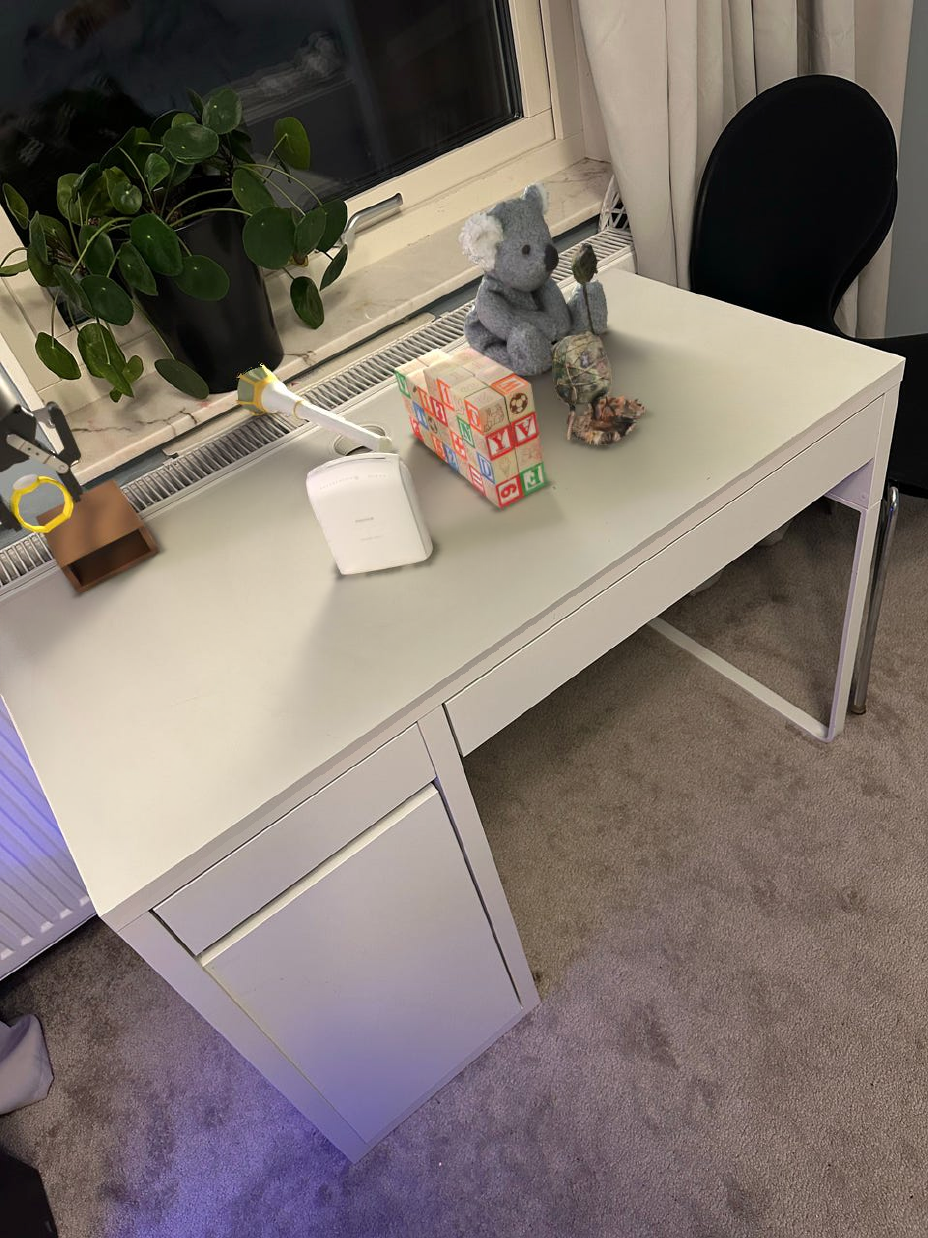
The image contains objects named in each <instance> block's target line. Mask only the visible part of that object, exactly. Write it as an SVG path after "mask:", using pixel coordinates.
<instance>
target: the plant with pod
mask: <svg viewBox="0 0 928 1238" xmlns="http://www.w3.org/2000/svg"><path fill="white" fill-rule="evenodd" d="M598 263H599V260H598V258H597V255H596V253H595V250H594V248H593V246H592V244H591V243H589V242H585V243H584V242H582V243H581V244H580V246H579V248H578V249H576V251H575V253H574V254H573V256H572V258H571V263H570V268H571V272H572V275H573V279H574V280H575V281H576V282H577V284H579V283H580V284H582V286H583V295H584V299H585V305H586V312H587V316H588V321H589V326H590V331H591V332H592V333H590V332H589V331H585V332H581V333H579V334H576V335H572V336H567V337H565V338H563V339H561V340H559V341H556V343H554V344H553V347H552V348H551V349H550V350H551V351H550V357H551V363H552V366H551V375H552V381H553V389H554V391H555V393H556V397H557V400H558V401H559V402H561V403H563V404H567V405H568V407H569V414H568V415H567V419H566V426H567V437H566V440H567V441H568V440H571V438H572V436H573V438H575V439H577V440H578V441H582V442H584V444H586V443H588V442H589V445H596V446H597V447H598V446H599V447H601V446H603V447H605V446H609V445H613V444H614V443H619V441H621V439H623V438H624V437H625V436H626V435H629V432H632V431H634V428H635V425H636V424H637V420H639V419H641V418H642V417H641V415H642V414H643V413H645V412H647V410H646V409H645V406H642V405H643V403H639V401H638V400H639V399H638V397H637V398H635V399H634V400H632V399H631V400H628V399H627V398H626V396H622V395H620V396H617V397H612V396H611V397H610V396H609V394H610V392H611V391H612V386H613V381H612V373H611V369H612V367H611V365H610V362H609V359H608V356H607V354H608V353H607V352H606V350H605V347H604V345H603V342H602V339H600V336H598V334H597V335H595V332H594V329H593V324H592V320H591V313H590V310H589V304H588V298H587V296H588V295H587V290H586V282H590V281H592V280H593V278H594V276H595V275H598V273H599V270H598V267H597V266H598ZM548 343H549V341H547V344H548ZM576 405H587V407H588V408H587V409H586V410H583V413H579V414H578V415H577V416H576V411H577V406H576ZM575 417H576V418H575ZM574 421H575V422H574Z"/></svg>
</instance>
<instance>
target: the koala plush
mask: <svg viewBox="0 0 928 1238" xmlns="http://www.w3.org/2000/svg"><path fill="white" fill-rule="evenodd" d="M549 195H550V192H549V191H548V189H547V188H546V186H545V183H544V182H543V181H542V182H541V181H540V182H534V181H533V180H532V181H531V184H529V185H527V186H526V187H525V188H524V191H523V193H522V194H521V195H520V197H515V198H510V199H506V200H505V201H502V202H498V203H496V204H495V205H494V206H492V207H491V208H490V209H489V210H488V211H485V212H483V211H481V212H480V211H477V212H473V214H472V216H469V218H467V220H466V221H465V222H464V227H461V228H460V230H461V232H460V233H459V235H458V237H457V238H456V242H459V243H462V244H461V252H462V255H463V256H466V259H468V262H469V263H471V264H474V265H477V266H479V267H480V269H481V270H483V272H484V273H483V275H482V279H481V282H480V284H479V286H478V289H477V294H476V296H475V301H474V302H473V303H472V306H471V307H470V308H469V309H468V311H467V312H466V314H465V316H464V318H463V320H462V323H463V324H462V327H463V328H462V331H463V334H464V337H465V339H466V340H467V343H468V345H469V347H470V348H472V349H473V350H475V351H477V352H479V353H480V354H482V355H483V356H486V357H488V358H490V359H492V360H493V361H495V362H497V363H498V364H501V365H502V366H504V367H506V368H508V369H509V370H511V371H513V372H514V375H517V376H524V377H525V376H529V377H530V376H540V375H542V374H543V373H545V372H547V371H549V369H551V367H552V363H551V357H550V351H551V350H550V349H551V348H552V347H553V346H554V344H552V343H553V342H558V341H560V340H561V339H563V338H565V337H567V336H572V335H576V334H579V333H581V332H585V331H589V332H590V333H592V332H591V331H590V326H589V321H588V316H587V312H586V305H585V299H584V295H583V286H582V284H580V283H577V284H576V286H575V287H574V288H573V290H572V292H571V293H570V295H569V297H568V301H566V298H565V297H564V294H563V292H562V290H561V288H560V287H559V286H558V284H557V282H556V280H554V278H553V277H552V274H553V271H555V270H556V269H557V267H558V265H559V263H560V257H559V251H558V248H557V247H556V246H555V243H554V241H553V238H552V234H551V232H550V228H549V226H548V225H549V224H547V222H546V220H545V216H547V213H548V212H549V206H550V204H551V203H550V202H549ZM586 290H587V295H588V296H587V298H588V304H589V310H590V313H591V320H592V324H593V329H594V332H595V335H597V336H598V335H601V334H603V333H604V332H606V329H607V326H608V315H609V311H608V303H607V298H606V293H605V290H604V286H603V284H602V283H601V282H600V281H599V279H598V278H596V279H594V280H591V281H590V282H586ZM547 341H549V343H548V344H547Z"/></svg>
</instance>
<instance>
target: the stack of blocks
mask: <svg viewBox="0 0 928 1238" xmlns="http://www.w3.org/2000/svg"><path fill="white" fill-rule="evenodd" d="M393 371H394V376H395V378H396V382H397V384H398V388H399V392H400V393H401V395H402V399H403V403H404V406H405V409H406V413H407V414H408V418H409V423H410V426H411V428H412V429H411V430H412V432H413V435H414V436H415V437H417V439H419V440H420V441H421V442H423V443H424V445H425V446H427V447H428V448H429V449H430V450H431V451H432V452H433V453H435V454H436V455H437V456H438V457H440V459H442V460H443V461H444V462H445V463H446V464H448V465H449V466H451V467H452V468H453V469H454V470H455V471H457V472H458V473H459V474H460V475H461V476H463V477H464V478H465V479H466V480H468V481H469V483H471V484H472V485H473V487H475V488H476V489H477V490H478V491H479V492H480V493H482V494H483V496H485V497H486V498H487V499H488V500H489V501H490V502H491V503H493V504H494V505H495V506H496V507H497V508H499V509H502V508H504V507H506V506H508V505H510V504H512V503H514V502H516V501H517V500H519V499H521V498H523V497H524V496H527V495H528V494H530V493H532V492H534V491H537V490H538V489H540V488H542V487H544V486H546V485H547V477H546V469H545V468H546V467H545V462H544V460H543V454H542V448H541V447H542V445H541V442H540V441H541V440H540V437H539V436H540V431H539V425H538V419H537V412H536V409H535V403H534V395H533V388H532V384H531V382H529V381H527V380H525V379H524V378H522V377H520V375H518V374H514V372H513V371H511V370H509V369H508V368H506V367H504V366H502V364H501V363H497V362H495V361H493V360H492V359H490V358H488V357H486V356H483V355H482V354H480V353H479V352H477V351H475V350H473V349H472V348H471V346H469V347H466V348H464V349H462V350H459V351H458V352H456V353H454V354H452V355H448V354H447V353H446V352H444V351H442V350H441V349H439V348H436V349H433V350H431V351H429V352H426V353H424V354H421V355H420V356H418V357H415V359H412V360H410V361H407V362H406V363H403V364H401V365H399V366H397V367H395V368H394V369H393Z"/></svg>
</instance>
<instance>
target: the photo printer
mask: <svg viewBox="0 0 928 1238" xmlns="http://www.w3.org/2000/svg"><path fill="white" fill-rule="evenodd" d="M306 475H307V478H306V479H305V484H306V490H307V497H308V499H309V502H310V504H311V507H312V510H313V511H314V514H315V516H316V519H317V521H318V523H319V525H320V528H321V530H322V532H323V535H324V537H325V539H326V540H325V541H326V542H327V544H328V547H329V550H330V551H331V554H332V556H333V558H334V561H335V563H336V565H337V568H338V570H339V572H340V574H341V575H356V574H362V573H367V572H368V573H369V572H373V571H380V570H386V569H391V568H397V567H400V566H407V565H410V564H415V563H419V562H423V561H426V560H427V559H429V558H430V557H431V555H432V553H433V551H434V545H433V542H432V539H431V536H430V532H429V530H428V527H427V523H426V520H425V516H424V513H423V511H422V508H421V505H420V501H419V497H418V495H417V493H416V489H415V486H414V482H413V480H412V477H411V474H410V470H409V469H408V467H407V466H406V464H405V461H404V459H403V457H402V456H401V454H397V453H391V452H390V453H376V452H366V453H359V454H351V455H346V456H343V457H340V458H336V459H333V460H330V461H328V462H325V463H323V464H321V465H319V466H317V467H316V468H315V467H314V469H312V470H310V471H309V472H307V474H306Z"/></svg>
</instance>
